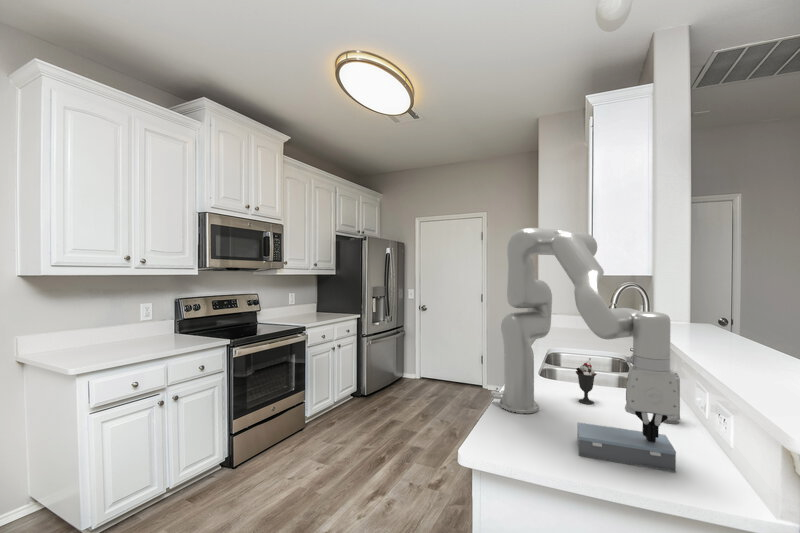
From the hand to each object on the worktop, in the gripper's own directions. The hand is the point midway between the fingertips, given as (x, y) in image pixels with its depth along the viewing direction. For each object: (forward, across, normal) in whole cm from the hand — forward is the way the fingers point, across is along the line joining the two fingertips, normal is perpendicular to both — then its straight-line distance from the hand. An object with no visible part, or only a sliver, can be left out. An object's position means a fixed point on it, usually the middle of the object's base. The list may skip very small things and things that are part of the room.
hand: (650, 439), depth 92 cm
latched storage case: (+5, -6, +1) cm, 8 cm away
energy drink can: (+6, +10, +31) cm, 33 cm away
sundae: (+6, -12, +39) cm, 41 cm away
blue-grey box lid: (+1, -6, +1) cm, 6 cm away
